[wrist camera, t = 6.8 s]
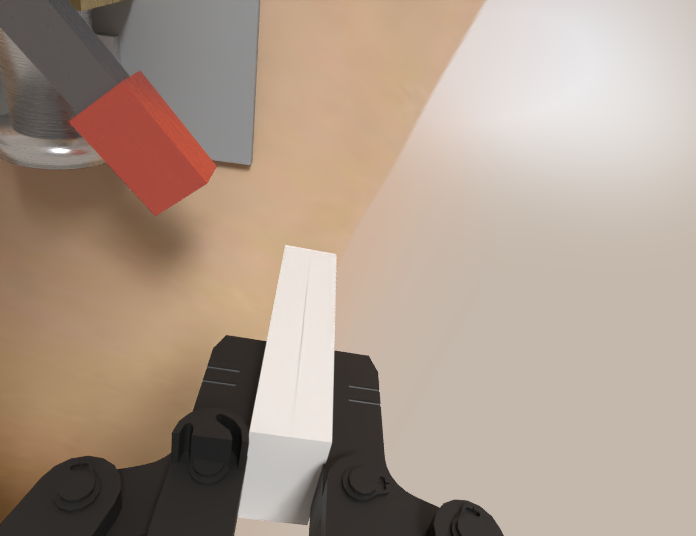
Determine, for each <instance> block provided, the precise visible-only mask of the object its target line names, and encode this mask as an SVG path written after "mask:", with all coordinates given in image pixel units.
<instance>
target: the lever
mask: <svg viewBox="0 0 696 536" xmlns="http://www.w3.org/2000/svg"><path fill="white" fill-rule="evenodd" d="M0 28H1V29H2V30H3V31H4V32H5V33H6V34H7V36H8V37H9V38H10V39H11V40H12V41H13V42H14V43H15V44H16V46H17V47H18V48H19V49H20V50H21V51H22V52H23V53H24V54H25V55H26V57H27V58H28V59H29V60H30V61H31V62H32V63H33V64H34V65H35V67H36V68H37V69H38V70H39V71H40V72H41V73H42V74H43V75H44V76H45V78H46V79H47V80H48V81H49V82H50V83H51V84H52V85H53V86H54V88H55V89H56V90H57V91H58V92H59V93H60V94H61V95H62V96H63V98H64V99H65V100H66V101H67V102H68V103H69V104H70V105H71V106H72V107H73V109H74V110H75V111H76V112H77V113H78V115H77V116H75V117H74V118H73V119H71V120H70V121H69V123H70V124H71V125H72V126H73V127H74V128H75V129H76V130H77V132H78V133H79V134H80V135H81V136H82V137H83V138H84V139H85V140H86V141H87V142H88V143H89V145H90V146H91V147H92V148H93V149H94V150H95V151H96V152H97V153H98V154H99V155H100V156H101V158H102V159H103V160H104V161H105V162H106V163H107V164H108V165H109V166H110V167H111V168H112V169H113V171H114V172H115V173H116V174H117V175H118V176H119V177H120V178H121V179H122V180H123V181H124V183H125V184H126V185H127V186H128V187H129V188H130V189H131V190H132V191H133V192H134V193H135V194H136V196H137V197H138V198H139V199H140V200H141V201H142V202H143V203H144V204H145V205H146V206H147V207H148V209H149V210H150V211H151V212H152V213H153V214H154V215H155V216H156V215H158V214H160V213H161V212H163V211H164V210H166V209H167V208H169V207H171V206H172V205H174V204H175V203H177V202H179V201H180V200H182V199H183V198H185V197H186V196H188V195H190V194H191V193H193V192H194V191H196V190H198V189H199V188H201V187H202V186H204V185H205V184H207V183H208V181H209V179H210V177H211V176H212V174H213V172H214V170H215V169H216V167H217V166H216V165H215V163H214V162H213V161H212V160H211V158H210V157H209V156H208V155H207V153H206V152H205V151H204V150H203V148H202V147H201V146H200V144H199V143H198V142H197V141H196V139H195V138H194V137H193V136H192V134H191V133H190V132H189V131H188V129H187V128H186V127H185V126H184V124H183V123H182V122H181V121H180V119H179V118H178V117H177V116H176V114H175V113H174V112H173V111H172V109H171V108H170V107H169V106H168V104H167V103H166V102H165V101H164V99H163V98H162V97H161V96H160V94H159V93H158V92H157V91H156V89H155V88H154V87H153V86H152V84H151V83H150V82H149V81H148V79H147V78H146V77H145V76H144V74H143V73H142V72H141V71H140V70H139V71H138V72H136V73H135V74H133V75H131V76H129V74H128V73H127V72H126V71H125V69H124V68H123V67H122V66H121V65H120V63H119V62H118V61H117V60H116V58H115V57H114V56H113V55H112V53H111V52H110V51H109V50H108V49H107V47H106V46H105V45H104V44H103V42H102V41H101V40H100V39H99V37H98V36H97V35H96V34H95V33H94V31H93V30H92V29H91V28H90V26H89V25H88V24H87V23H86V22H85V20H84V19H83V18H82V17H81V15H80V14H79V13H78V12H77V10H76V9H75V8H74V7H73V6H72V4H71V3H70V2H69V1H68V0H0Z"/></svg>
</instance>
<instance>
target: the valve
mask: <svg viewBox="0 0 696 536" xmlns="http://www.w3.org/2000/svg"><path fill="white" fill-rule="evenodd" d="M68 1H69V2H70V3H71V4H72V6H73V7H74V8H75V9H76V10H77V12H78V13H79V14H80V15H81V17H82V18H83V19H84V20H85V22H86V23H87V24H88V25H89V26H90V28H91V29H92V30H93V24H92V15H91V9H93V8H96V7H100V6H104V5H108V4H112V3H116V2H119V1H123V0H68ZM94 33H95V34H96V35H97V36H98V37H99V39H100V40H101V41H102V42H103V44H104V45H105V46H106V47H107V49H108V50H109V51H110V52H111V53H112V55H113V56H114V57H115V58H116V60H117V61H118V62H119V63H120V65H121V54H120V43H119V35H114V34H107V33H101V32H95V31H94ZM121 66H122V65H121ZM0 74H1V79H2V83H3V88H4V93H5V97H6V102H7V107H8V111H9V113H6V114H3V115H1V116H0V158H1V159H3V160H5V161H7V162H10V163H12V164H16V165H20V166H24V167H30V168H37V169H51V170H63V169H78V168H86V167H92V166H97V165H101V164H104V163H106V162H105V161H104V160H103V159H102V158H101V156H100V155H99V154H98V153H97V152H96V151H95V150H94V149H93V148H92V147H91V146H90V145H89V143H88V142H87V141H86V140H85V139H84V138H83V137H82V136H81V135H80V134H79V133H78V132H77V130H76V129H75V128H74V127H73V126H72V125H71V124H70V123H69V121H70V120H71V119H73V118H74V117H75V116H77V115H78V113H77V112H76V111H75V110H74V109H73V107H72V106H71V105H70V104H69V103H68V102H67V101H66V100H65V99H64V98H63V96H62V95H61V94H60V93H59V92H58V91H57V90H56V89H55V88H54V86H53V85H52V84H51V83H50V82H49V81H48V80H47V79H46V78H45V76H44V75H43V74H42V73H41V72H40V71H39V70H38V69H37V68H36V67H35V65H34V64H33V63H32V62H31V61H30V60H29V59H28V58H27V57H26V55H25V54H24V53H23V52H22V51H21V50H20V49H19V48H18V47H17V46H16V44H15V43H14V42H13V41H12V40H11V39H10V38H9V37H8V36H7V34H6V33H5V32H4V31H3V30H2V29H1V28H0Z"/></svg>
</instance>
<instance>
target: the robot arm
mask: <svg viewBox="0 0 696 536" xmlns="http://www.w3.org/2000/svg"><path fill="white" fill-rule="evenodd" d="M335 296H336V254H333V253H327V252H322V251H316V250H311V249H305V248H299V247H294V246H288V245H285V250H284V255H283V260H282V265H281V271H280V276H279V281H278V286H277V291H276V296H275V302H274V307H273V312H272V317H271V322H270V327H269V333H268V338H267V341H261V340H254V339H248V338H241V337H235V336H228V335H226V336H225V337H224V338H223V339H222V340H221V341H220V342H219V343H218V344H217V345H216V346H215V347H214V348H213V350H212V353H211V357H210V360H209V363H208V367H207V369H206V372H205V375H204V378H203V383H202V385H201V388H200V391H199V394H198V397H197V400H196V403H195V406H194V409H193V412H191V413H189V414H188V415H187V416H185V417H184V418H183V419H181V420H180V421H179V422H178V424H177V425H176V427H175V429H174V430H173V432H172V449H171V453H170V454H169V455H167V456H166V457H164V458H162V459H160V460H158V461H156V462H153V463H149V464H146V465H141V466H135V467H129V468H124V469H118V470H117V469H116V467H115V466H114V465H113V464H112V463H110V462H108V461H107V460H105V459H103V458H98V457H92V456H84V457H78V458H71V459H69V460H67V461H65V462H63V463H60V464H58V465H56V466H54V467H53V468H52V469H51V470H50V471H49V472H47V473H46V474H45V475H44V476H43V477H41V479H40V480H39V481H38V482H37V483H36V484H35V485H34V487H33V488H32V489H31V490H30V491H29V492H28V493H27V495H26V496H25V497H24V498H23V499H22V500H21V501H20V503H19V504H18V505H17V506H16V507H15V508H14V509H13V510H12V512H11V513H10V514H9V515H8V516H7V517H6V518H5V520H4V521H3V522H2V523H1V524H0V536H234V533H235V527H236V522H237V517H239V518H248V519H258V520H266V521H275V522H284V523H293V524H302V525H307V524H308V521H309V518H310V526H309V527H310V528H309V536H504V535H503V534H502V531H501V530H500V528H499V526H498V525H497V523H496V522H495V520H494V519H493V517H492V516H491V515H489V514H488V513H487V512H486V511H485V510H484V509H483V508H481V507H480V506H478V505H476V504H474V503H471V502H469V501H466V500H452V501H449V502H446V503H444V504H443V505H442V506H441V507H440V508H439V507H437V506H435V505H432V504H430V503H428V502H425V501H423V500H421V499H419V498H417V497H415V496H413V495H411V494H409V493H408V492H406V491H405V490H404V489H403V488H401V487H400V486H399V485H398V484H397V483H396V482H395V480H394V479H393V478H392V476H391V475H390V473H389V471H388V469H387V466H386V462H385V455H384V443H383V430H382V419H381V418H382V417H381V407H380V392H379V380H378V371H377V370H376V368H375V366H374V364H373V363H372V361H371V359H370V357H369V356H366V355H359V354H353V353H347V352H340V351H334V339H335Z"/></svg>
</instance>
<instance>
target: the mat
mask: <svg viewBox="0 0 696 536" xmlns="http://www.w3.org/2000/svg"><path fill="white" fill-rule="evenodd" d="M259 13H260V0H123V1H119V2H116V3H112V4H108V5H104V6H100V7H96V8H93V9H91V15H92V24H93V31H95V32H101V33H107V34H114V35H119V43H120V54H121V65H122V67H123V68H124V69H125V71H126V72H127V73H128V74H129V76H131V75H133V74H135V73H136V72H138V71H139V70H140V71H141V72H142V73H143V74H144V76H145V77H146V78H147V79H148V81H149V82H150V83H151V84H152V86H153V87H154V88H155V89H156V91H157V92H158V93H159V94H160V96H161V97H162V98H163V99H164V101H165V102H166V103H167V104H168V106H169V107H170V108H171V109H172V111H173V112H174V113H175V114H176V116H177V117H178V118H179V119H180V121H181V122H182V123H183V124H184V126H185V127H186V128H187V129H188V131H189V132H190V133H191V134H192V136H193V137H194V138H195V139H196V141H197V142H198V143H199V144H200V146H201V147H202V148H203V150H204V151H205V152H206V153H207V155H208V156H209V157H210V158H211V160H215V161H223V162H230V163H237V164H244V165H251V164H252V157H253V136H254V116H255V95H256V75H257V54H258V33H259ZM6 113H9V111H8V107H7V102H6V97H5V93H4V88H3V83H2V79H1V74H0V116H1V115H3V114H6Z"/></svg>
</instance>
